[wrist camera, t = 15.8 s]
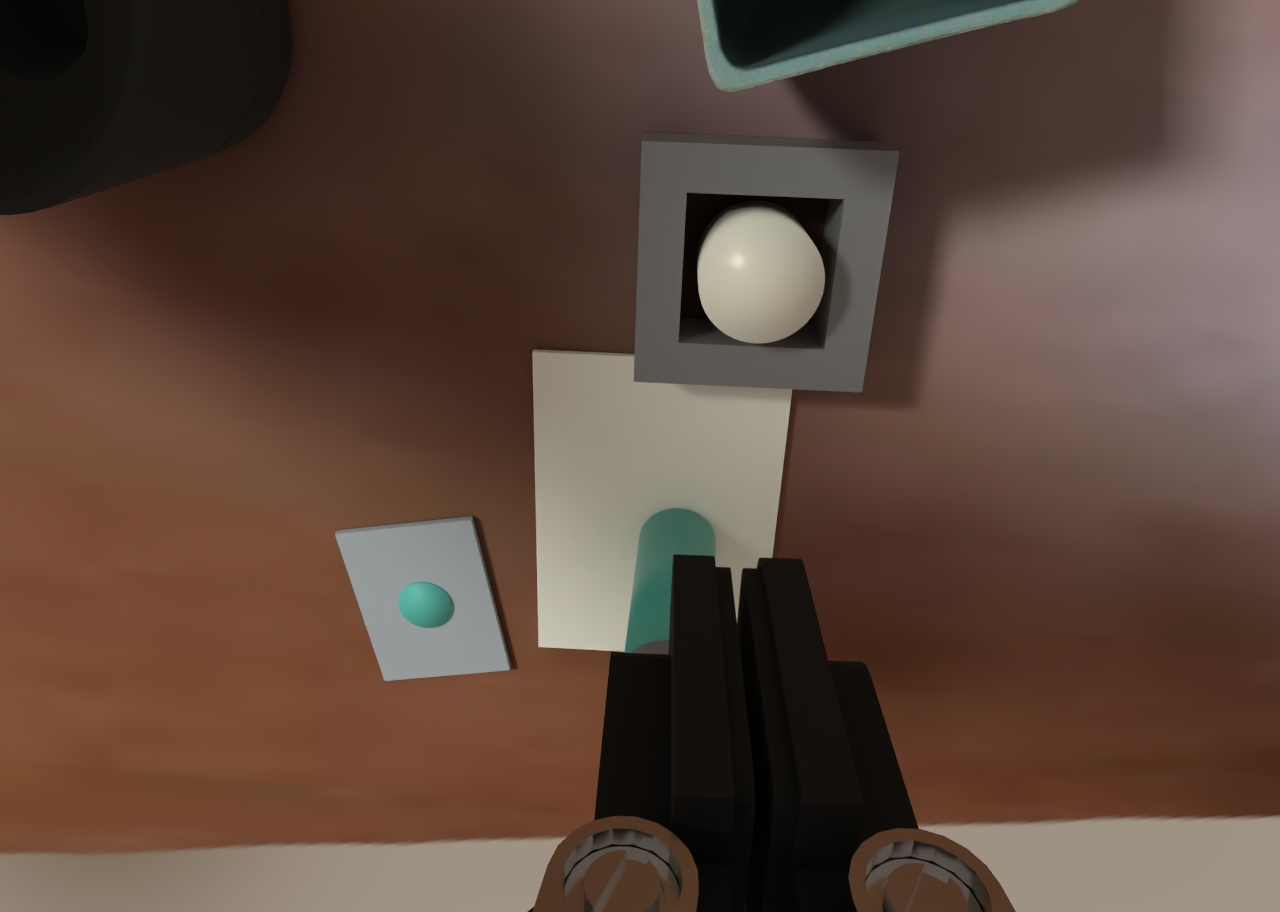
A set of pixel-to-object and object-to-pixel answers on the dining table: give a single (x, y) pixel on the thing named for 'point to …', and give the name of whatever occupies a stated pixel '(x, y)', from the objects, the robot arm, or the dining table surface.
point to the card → (425, 598)
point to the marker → (662, 574)
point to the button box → (849, 254)
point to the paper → (641, 482)
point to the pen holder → (129, 89)
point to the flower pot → (835, 31)
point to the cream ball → (758, 272)
